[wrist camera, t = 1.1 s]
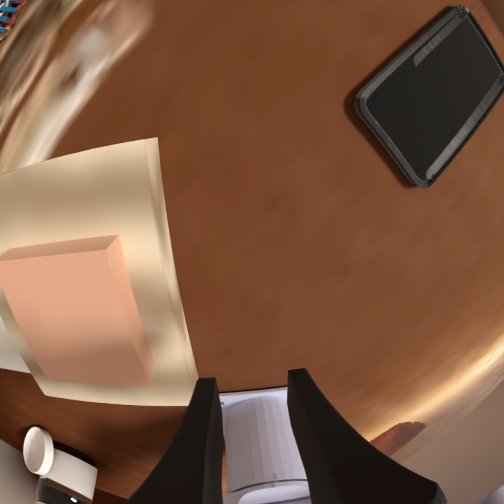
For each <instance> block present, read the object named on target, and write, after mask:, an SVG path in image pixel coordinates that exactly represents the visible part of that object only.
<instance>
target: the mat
mask: <svg viewBox="0 0 504 504" xmlns="http://www.w3.org/2000/svg"><path fill="white" fill-rule="evenodd" d="M0 368H4V369H9V370H15V371H21V372H27V373H31V372H30V371H29V369H28V367H27V366H26V364H25V362H24V361H23V359H22V357H21V355H20V353H19V352H18V350H17V348H16V346H15V344H14V342H13V341H12V339H11V337H10V335H9V333H8V331H7V329H6V327H5V325H4V322H3V320H2V318H1V316H0Z"/></svg>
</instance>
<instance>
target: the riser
mask: <svg viewBox="0 0 504 504" xmlns="http://www.w3.org/2000/svg"><path fill="white" fill-rule="evenodd" d="M118 234H119V236H120V241H121V246H122V250H123V255H124V259H125V263H126V267H127V272H128V276H129V280H130V283H131V287H132V291H133V295H134V298H135V302H136V306H137V309H138V313H139V316H140V319H141V323H142V326H143V329H144V332H145V336H146V339H147V342H148V345H149V348H150V351H151V354H152V357H153V360H154V362H155V369H154V374H153V379H152V383H151V387H122V386H104V385H91V384H80V383H70V382H61V381H53V380H48V379H47V377H46V376H45V374H44V373H43V371H42V369H41V367H40V366H39V364H38V362H37V360H36V359H35V357H34V355H33V353H32V351H31V349H30V348H29V346H28V344H27V342H26V340H25V338H24V336H23V334H22V332H21V330H20V328H19V326H18V324H17V321H16V319H15V317H14V315H13V313H12V310H11V308H10V306H9V303H8V301H7V299H6V296H5V294H4V291H3V289H2V286H1V283H0V316H1V318H2V320H3V322H4V325H5V327H6V329H7V331H8V333H9V335H10V337H11V339H12V341H13V342H14V344H15V346H16V348H17V350H18V352H19V353H20V355H21V357H22V359H23V361H24V362H25V364H26V366H27V367H28V369H29V371H30V372H31V374H32V376H33V377H34V379H35V380H36V382H37V383H38V385H39V387H40V388H41V390H42V391H43V393H44V394H45V395H47V396H53V397H59V398H66V399H73V400H81V401H90V402H100V403H112V404H126V405H150V406H188V405H189V402H190V400H191V397H192V394H193V391H194V388H195V385H196V381H197V380H198V373H197V369H196V365H195V361H194V357H193V353H192V349H191V344H190V340H189V335H188V331H187V326H186V322H185V317H184V312H183V307H182V303H181V298H180V292H179V287H178V282H177V276H176V271H175V265H174V260H173V254H172V248H171V241H170V235H169V229H168V222H167V215H166V208H165V200H164V193H163V185H162V176H161V167H160V158H159V148H158V137H156V138H150V139H143V140H137V141H131V142H126V143H120V144H115V145H110V146H105V147H100V148H96V149H91V150H87V151H82V152H78V153H74V154H70V155H66V156H62V157H58V158H54V159H51V160H47V161H43V162H40V163H37V164H33V165H30V166H27V167H23V168H20V169H17V170H14V171H11V172H8V173H5V174H2V175H0V256H1V255H3V254H4V253H5V252H7V251H8V250H9V249H10V248H16V247H23V246H30V245H37V244H44V243H52V242H60V241H67V240H75V239H83V238H92V237H100V236H109V235H118Z"/></svg>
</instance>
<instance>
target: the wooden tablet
mask: <svg viewBox="0 0 504 504" xmlns="http://www.w3.org/2000/svg"><path fill="white" fill-rule="evenodd" d="M426 426H427V425H425V424H422V423H420V422H414V423H412V422H404V423H399V424H397V425H395V426H393V427H392V428H390V429H389V430H387V431H386V432H384V433H382V434H381V435H379V436H378V437H376V438H375V439H373V440H372V441H371V442H369V443H371V444H372V445H373V446H374V447H376V448H377V449H378V450H379V451H381V452H382V453H384V454H385V455H387V456H388V457H390V456H391V455H393V454H394V453H396V452H397V451H398V450H399V449H401V448H402V447H403V446H405V445H406V444H407V443H408V442H409V441H411V440H412V439H413V438H414V437H416V436H417V435H418V434H419V433H420V432H421V431H422V430H423V429H424V428H425V427H426Z"/></svg>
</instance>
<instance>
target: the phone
mask: <svg viewBox="0 0 504 504" xmlns="http://www.w3.org/2000/svg"><path fill="white" fill-rule="evenodd" d="M503 93H504V65H503V63H502V62H501V60H500V58H499V56H498V54H497V53H496V51H495V49H494V47H493V46H492V44H491V42H490V41H489V39H488V37H487V36H486V34H485V33H484V31H483V30H482V28H481V27H480V25H479V24H478V22H477V21H476V19H475V18H474V16H473V15H472V13H471V12H470V11H469V10H468V9H467V8H466V7H464V6H462V5H458V6H455V7H452V8H451V9H450V10H447V11H446V12H445V14H444V15H441V16H440V17H439V18H438V19H437V21H434V22H433V23H432V24H430V27H429V28H428V29H426V30H425V31H424V32H423V33H422V34H421V35H420V36H419V37H417V38H416V39H415V40H414V41H413V42H412V43H411V44H410V45H408V46H407V47H406V48H405V49H404V50H403V51H402V52H401V53H400V54H399V55H397V56H396V57H395V58H394V59H393V60H392V61H391V62H390V63H389V64H388V65H387V66H385V67H384V68H383V69H382V70H381V71H380V72H379V73H378V74H377V75H376V76H375V77H374V78H373V79H372V80H370V81H369V82H368V83H367V84H366V85H365V86H364V87H363V88H362V89H361V90H360V91H359V92H358V94H357V95H356V97H355V109H356V112H357V114H358V115H359V117H360V118H361V119H362V121H363V122H364V123H365V124H366V125H367V124H368V125H367V127H368V128H369V129H370V130H371V131H372V133H373V134H374V135H375V136H376V138H377V139H378V140H379V141H380V143H381V144H382V145H383V146H384V148H385V149H386V150H387V152H388V153H389V154H390V156H391V157H392V158H393V160H394V161H395V162H396V164H397V165H398V167H399V168H400V169H401V171H402V172H403V174H404V175H405V176H406V178H407V179H408V181H409V182H410V183H411V184H413V185H415V186H418V187H421V188H427V187H430V186H431V185H432V184H433V183H434V182H435V181H436V179H437V178H438V177H439V176H440V175H441V174H442V172H443V171H444V170H445V169H446V168H447V166H448V165H449V164H450V163H451V162H452V160H453V159H454V158H455V157H456V155H457V154H458V153H459V152H460V150H461V149H462V148H463V147H464V145H465V144H466V143H467V142H468V140H469V139H470V138H471V137H472V135H473V134H474V133H475V131H476V130H477V129H478V127H479V126H480V125H481V123H482V122H483V121H484V119H485V118H486V117H487V115H488V114H489V113H490V111H491V110H492V108H493V107H494V106H495V104H496V103H497V101H498V100H499V98H500V97H501V96H502V94H503Z"/></svg>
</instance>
